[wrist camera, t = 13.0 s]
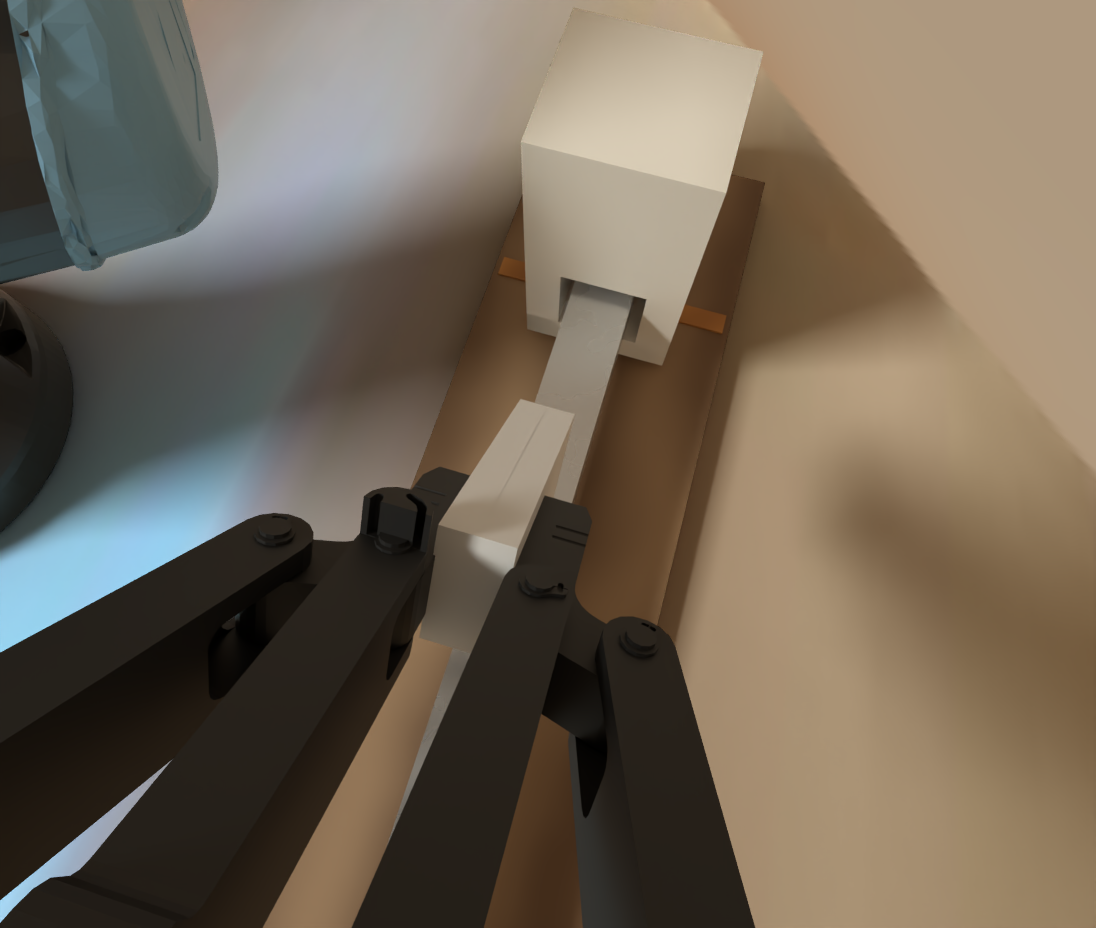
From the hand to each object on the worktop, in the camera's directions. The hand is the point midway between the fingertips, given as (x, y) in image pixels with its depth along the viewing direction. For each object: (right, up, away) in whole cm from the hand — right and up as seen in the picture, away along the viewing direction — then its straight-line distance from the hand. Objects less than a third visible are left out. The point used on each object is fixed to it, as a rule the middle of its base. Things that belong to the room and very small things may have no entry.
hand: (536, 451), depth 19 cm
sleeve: (+3, +8, +15) cm, 17 cm away
